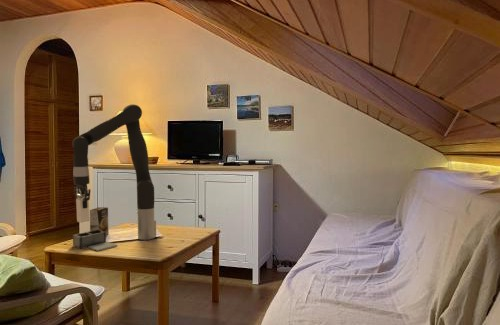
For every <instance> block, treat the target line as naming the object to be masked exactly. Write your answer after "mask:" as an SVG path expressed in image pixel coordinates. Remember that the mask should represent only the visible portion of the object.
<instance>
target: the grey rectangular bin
mask: <svg viewBox="0 0 500 325" xmlns="http://www.w3.org/2000/svg"><path fill="white" fill-rule="evenodd" d="M106 236H107V235H106V232H104V231H101V230H94V231H90V230H89V231H84V232H81V233H80V232H79V233H76V234H72V246H73V247H75V248H77V249H80V250H82V249H87V248H89V246H93V245H97V244H101V243H105V242H107V239H106V238H107V237H106Z"/></svg>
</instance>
